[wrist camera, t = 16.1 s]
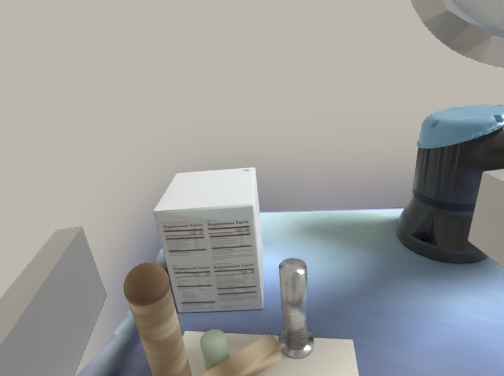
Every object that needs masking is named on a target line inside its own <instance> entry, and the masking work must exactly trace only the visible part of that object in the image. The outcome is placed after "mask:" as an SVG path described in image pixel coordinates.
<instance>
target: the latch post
mask: <svg viewBox="0 0 504 376" xmlns="http://www.w3.org/2000/svg"><path fill="white" fill-rule="evenodd" d="M200 345H201V350H202V354H203V359H204V364H205V368H206V370H207V371H209V370H210V369H212V368H214V367H215V366H217V365H218V364H220V363H222V362H223V361H225V360H227V359H228V358H229V353H228V348H227V342H226V336H225V334H224V332H223V331H221V330H219V329H211V330H209V331H207V332H205V333H204V334H203V335H202V337H201V339H200Z"/></svg>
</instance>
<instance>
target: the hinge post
mask: <svg viewBox="0 0 504 376" xmlns="http://www.w3.org/2000/svg"><path fill="white" fill-rule="evenodd" d="M279 274H280V289H281V304H282V319H283V331H282V332H281V333H280V335H279V338H278V342H279V343H280V344H281V352H282V353H283V354H284V355H286V356H287V357H289V358H292V359H302V358H305V357H307V356H308V355H310V354H311V352H312V351H313V348H314V338H313V336H312V334H311V333H310V332H309V331H308V313H307V271H306V264H305V263H304V262H303V261H302V260H300V259H296V258H290V259H286V260H284V261H282V262H281V263H280V265H279Z"/></svg>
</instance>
